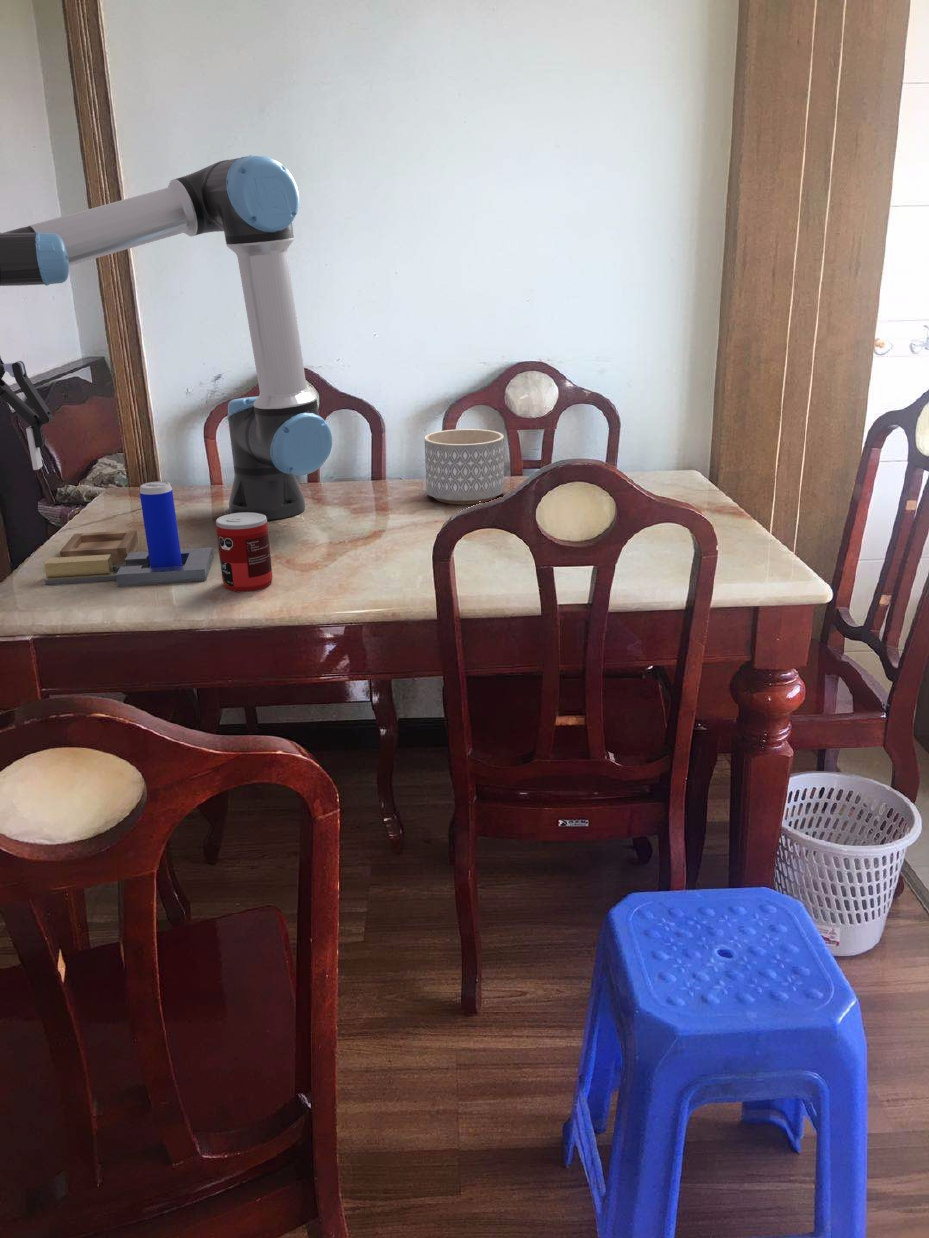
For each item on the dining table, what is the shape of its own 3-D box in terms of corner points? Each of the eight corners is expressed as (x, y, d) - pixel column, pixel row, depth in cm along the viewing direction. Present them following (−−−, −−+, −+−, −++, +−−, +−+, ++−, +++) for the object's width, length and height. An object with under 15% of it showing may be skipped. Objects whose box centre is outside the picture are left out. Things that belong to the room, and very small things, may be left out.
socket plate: (213, 558, 174) (211, 547, 173) (205, 580, 163) (204, 569, 162) (58, 567, 171) (56, 556, 170) (40, 591, 160) (38, 579, 159)
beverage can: (189, 569, 169) (178, 482, 163) (169, 578, 164) (156, 489, 159) (165, 565, 171) (153, 479, 165) (144, 574, 167) (131, 487, 161)
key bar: (113, 571, 168) (110, 554, 167) (110, 577, 165) (107, 559, 164) (51, 575, 167) (48, 558, 166) (47, 580, 164) (44, 563, 163)
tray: (138, 544, 183) (136, 530, 182) (128, 562, 173) (125, 547, 172) (76, 547, 182) (74, 533, 181) (62, 566, 171) (59, 551, 170)
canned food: (226, 577, 164) (219, 513, 160) (275, 575, 165) (269, 511, 161) (219, 593, 157) (211, 526, 153) (270, 591, 158) (264, 524, 154)
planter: (457, 483, 221) (455, 426, 216) (519, 493, 212) (519, 433, 207) (410, 499, 209) (408, 439, 204) (474, 510, 200) (473, 447, 195)
